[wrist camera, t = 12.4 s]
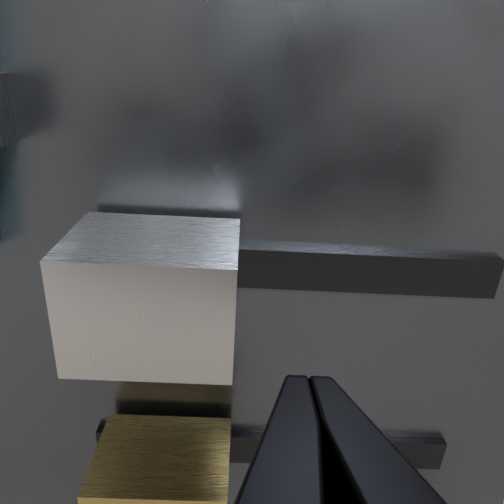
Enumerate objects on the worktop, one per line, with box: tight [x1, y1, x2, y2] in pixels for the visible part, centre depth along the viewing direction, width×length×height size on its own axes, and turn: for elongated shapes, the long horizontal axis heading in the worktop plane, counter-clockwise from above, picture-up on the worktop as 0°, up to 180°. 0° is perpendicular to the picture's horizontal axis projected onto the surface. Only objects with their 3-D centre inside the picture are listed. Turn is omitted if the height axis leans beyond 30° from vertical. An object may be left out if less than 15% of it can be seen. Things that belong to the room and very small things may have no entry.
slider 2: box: [77, 414, 231, 504], centre depth 14 cm, size 4×3×3 cm
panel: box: [0, 0, 504, 504], centre depth 14 cm, size 22×23×4 cm
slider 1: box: [40, 212, 240, 385], centre depth 11 cm, size 4×3×3 cm
